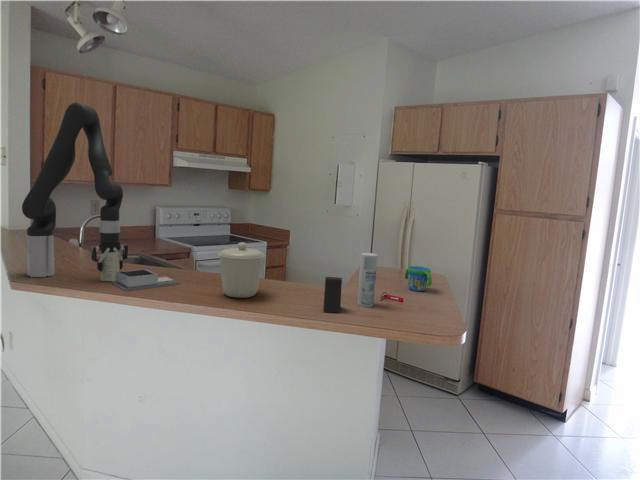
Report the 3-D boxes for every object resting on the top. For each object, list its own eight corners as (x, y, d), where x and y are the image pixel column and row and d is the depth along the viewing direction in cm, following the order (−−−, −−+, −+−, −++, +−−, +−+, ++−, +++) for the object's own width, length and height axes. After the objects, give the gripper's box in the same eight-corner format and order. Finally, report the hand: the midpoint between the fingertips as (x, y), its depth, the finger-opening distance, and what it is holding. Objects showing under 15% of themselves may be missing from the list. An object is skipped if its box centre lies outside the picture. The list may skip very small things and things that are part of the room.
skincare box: (120, 279, 180) (120, 251, 179) (114, 282, 176) (114, 253, 174) (105, 278, 181) (105, 250, 179) (99, 280, 177) (99, 251, 175)
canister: (223, 302, 157) (225, 246, 154) (212, 290, 173) (213, 239, 170) (269, 299, 165) (272, 245, 162) (254, 287, 181) (256, 238, 178)
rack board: (126, 291, 164) (126, 278, 163) (112, 283, 174) (112, 271, 173) (179, 284, 179) (179, 272, 179) (164, 277, 189) (164, 266, 188)
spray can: (362, 307, 162) (366, 255, 159) (354, 302, 168) (357, 252, 165) (376, 306, 165) (380, 255, 162) (368, 301, 171) (372, 252, 168)
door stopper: (323, 305, 162) (325, 274, 160) (339, 306, 162) (341, 275, 160) (323, 312, 153) (325, 279, 151) (339, 313, 153) (342, 280, 151)
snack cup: (437, 293, 191) (439, 271, 190) (417, 294, 187) (419, 272, 185) (416, 285, 205) (418, 264, 204) (397, 286, 201) (399, 265, 200)
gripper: (124, 229, 183) (124, 267, 186) (88, 230, 173) (88, 270, 175) (131, 231, 178) (131, 270, 180) (94, 232, 168) (94, 273, 170)
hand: (109, 270), depth 178 cm, fingers closed on skincare box, 7 cm apart
